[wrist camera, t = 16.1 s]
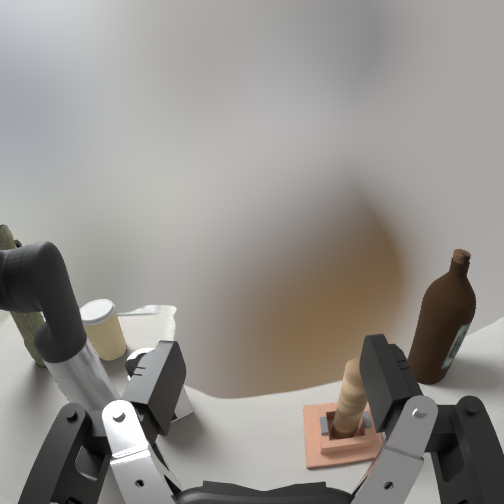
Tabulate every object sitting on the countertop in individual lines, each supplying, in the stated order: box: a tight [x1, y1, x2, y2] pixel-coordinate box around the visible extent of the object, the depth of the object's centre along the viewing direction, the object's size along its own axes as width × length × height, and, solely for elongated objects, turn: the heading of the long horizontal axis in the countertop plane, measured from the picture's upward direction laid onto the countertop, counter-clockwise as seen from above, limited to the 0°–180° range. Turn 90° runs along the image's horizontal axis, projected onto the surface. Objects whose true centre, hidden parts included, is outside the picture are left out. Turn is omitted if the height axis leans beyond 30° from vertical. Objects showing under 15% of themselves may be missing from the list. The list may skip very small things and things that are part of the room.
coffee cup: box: [80, 299, 127, 361], centre depth 54 cm, size 9×9×12 cm
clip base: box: [303, 402, 383, 468], centre depth 33 cm, size 12×12×4 cm
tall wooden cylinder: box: [331, 357, 368, 440], centre depth 31 cm, size 4×4×15 cm
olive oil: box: [407, 249, 476, 384], centre depth 38 cm, size 11×11×25 cm
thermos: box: [0, 224, 46, 367], centre depth 45 cm, size 9×12×35 cm
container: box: [125, 348, 193, 423], centre depth 39 cm, size 8×8×13 cm
